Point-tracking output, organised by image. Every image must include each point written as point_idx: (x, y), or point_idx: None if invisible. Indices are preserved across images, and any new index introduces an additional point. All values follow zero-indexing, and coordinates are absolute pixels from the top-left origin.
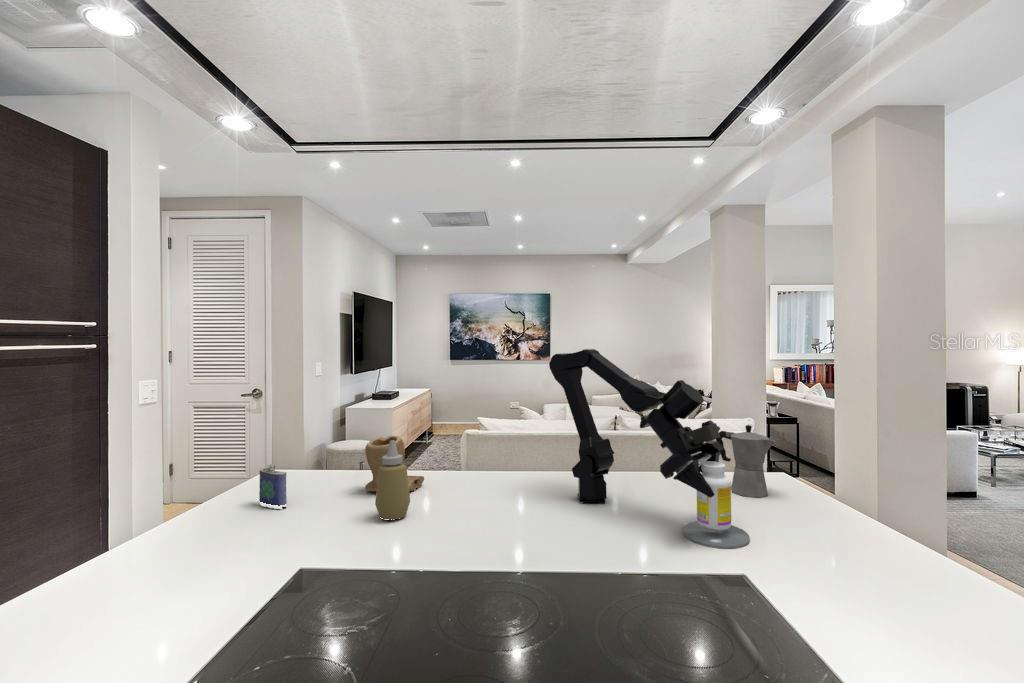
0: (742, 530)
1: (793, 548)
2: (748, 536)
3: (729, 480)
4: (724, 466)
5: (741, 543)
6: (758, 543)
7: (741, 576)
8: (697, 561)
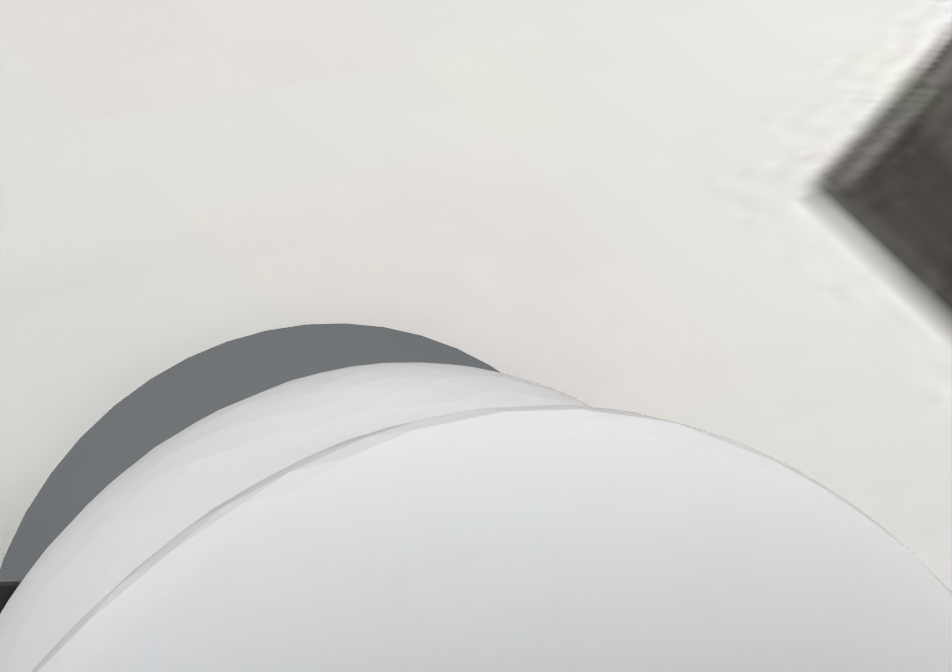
0: (81, 457)
1: (145, 45)
2: (209, 357)
3: (331, 380)
4: (518, 410)
5: (419, 345)
6: (240, 273)
7: (850, 193)
8: (897, 479)
